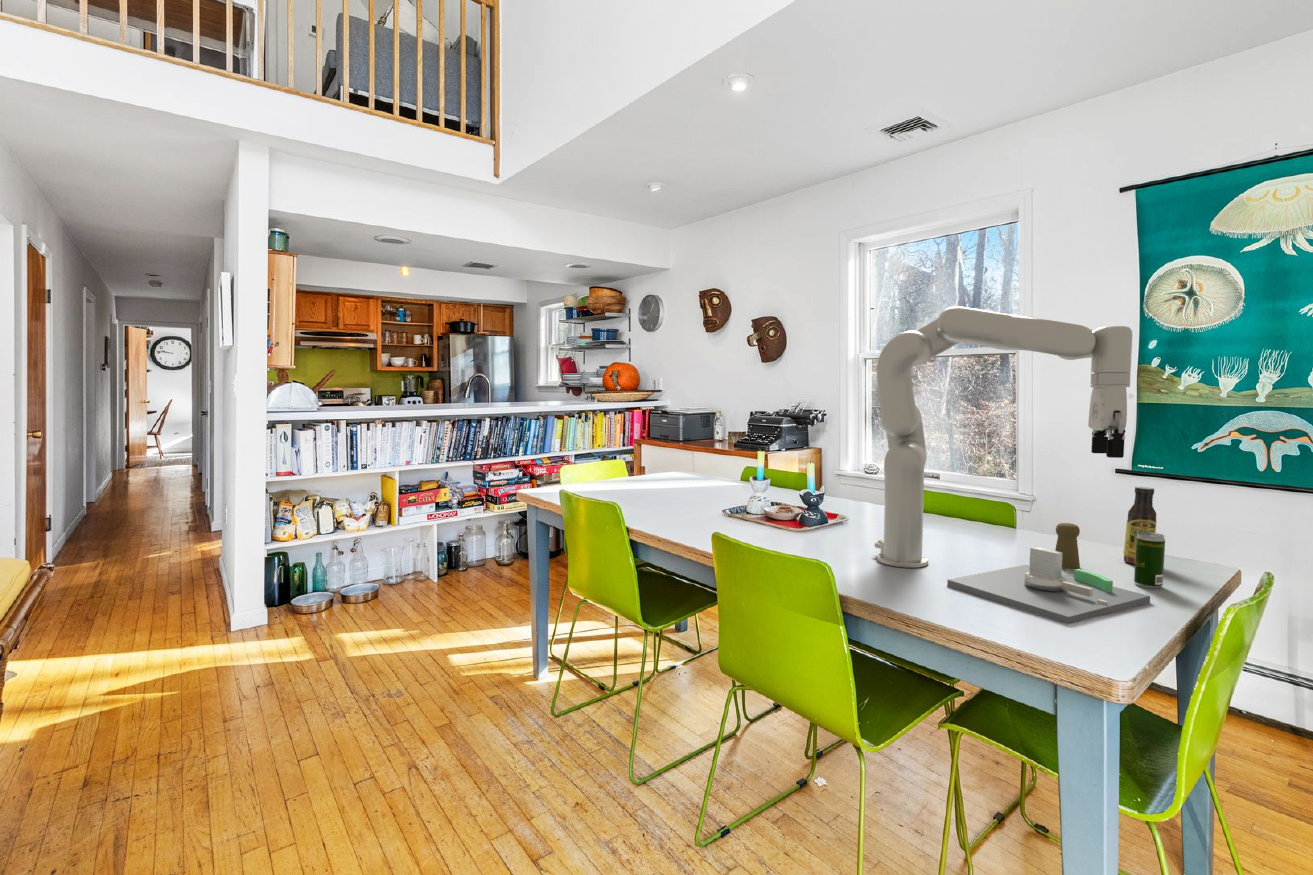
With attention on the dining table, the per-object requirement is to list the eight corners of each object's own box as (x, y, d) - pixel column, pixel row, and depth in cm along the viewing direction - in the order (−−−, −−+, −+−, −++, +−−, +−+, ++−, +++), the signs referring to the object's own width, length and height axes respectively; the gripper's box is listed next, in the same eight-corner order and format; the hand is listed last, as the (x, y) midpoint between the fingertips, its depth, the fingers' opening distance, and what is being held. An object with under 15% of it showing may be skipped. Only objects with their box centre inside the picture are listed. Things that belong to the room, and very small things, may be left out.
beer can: (1167, 587, 152) (1170, 535, 151) (1154, 590, 150) (1157, 538, 149) (1142, 581, 157) (1144, 530, 156) (1128, 584, 155) (1131, 533, 154)
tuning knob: (1016, 583, 149) (1017, 548, 149) (1038, 578, 153) (1040, 544, 152) (1079, 601, 137) (1081, 563, 136) (1102, 595, 140) (1104, 558, 140)
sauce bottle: (1126, 565, 171) (1130, 488, 169) (1120, 559, 177) (1123, 485, 175) (1157, 567, 168) (1161, 489, 167) (1149, 561, 174) (1154, 486, 173)
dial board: (947, 585, 154) (947, 569, 154) (1025, 570, 166) (1026, 555, 166) (1068, 624, 129) (1069, 604, 129) (1149, 602, 141) (1150, 584, 141)
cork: (1084, 569, 167) (1086, 526, 166) (1057, 568, 168) (1059, 525, 167) (1074, 563, 173) (1076, 521, 172) (1048, 562, 174) (1050, 520, 173)
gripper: (1079, 381, 162) (1076, 451, 163) (1105, 380, 145) (1101, 458, 146) (1114, 381, 160) (1111, 452, 161) (1145, 380, 143) (1141, 459, 144)
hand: (1106, 455), depth 154 cm, fingers open, 9 cm apart
